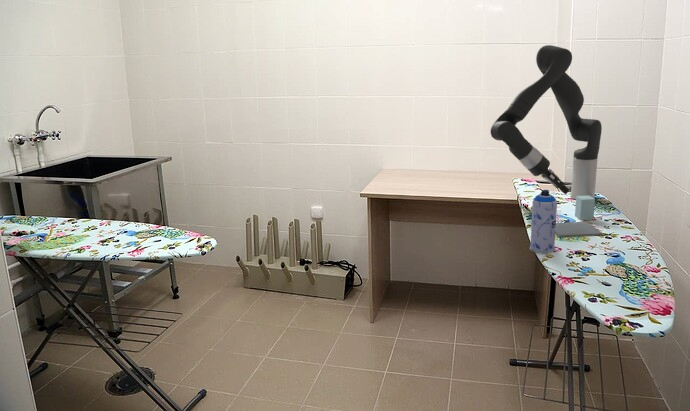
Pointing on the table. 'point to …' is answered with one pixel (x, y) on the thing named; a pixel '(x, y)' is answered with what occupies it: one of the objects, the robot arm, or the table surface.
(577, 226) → the mat
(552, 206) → the aerosol can
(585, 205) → the block
